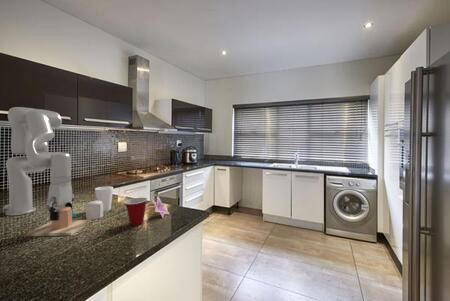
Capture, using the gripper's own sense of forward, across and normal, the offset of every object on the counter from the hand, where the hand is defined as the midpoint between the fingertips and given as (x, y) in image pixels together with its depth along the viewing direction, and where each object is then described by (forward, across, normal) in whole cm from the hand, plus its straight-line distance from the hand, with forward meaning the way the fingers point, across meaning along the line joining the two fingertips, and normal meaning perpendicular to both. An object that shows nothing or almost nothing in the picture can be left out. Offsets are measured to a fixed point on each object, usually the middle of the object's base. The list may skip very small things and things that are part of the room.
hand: (61, 216), depth 101 cm
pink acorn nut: (+4, 0, 0) cm, 4 cm away
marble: (+4, -15, -4) cm, 16 cm away
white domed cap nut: (+6, -15, +7) cm, 17 cm away
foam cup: (+6, -28, +6) cm, 29 cm away
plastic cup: (+6, -5, +32) cm, 33 cm away
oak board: (+6, 0, 0) cm, 6 cm away
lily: (+6, -16, +41) cm, 44 cm away
